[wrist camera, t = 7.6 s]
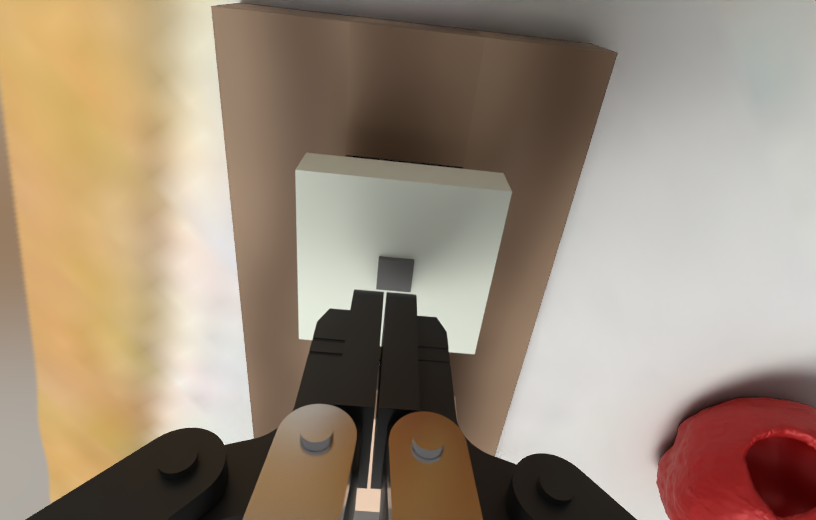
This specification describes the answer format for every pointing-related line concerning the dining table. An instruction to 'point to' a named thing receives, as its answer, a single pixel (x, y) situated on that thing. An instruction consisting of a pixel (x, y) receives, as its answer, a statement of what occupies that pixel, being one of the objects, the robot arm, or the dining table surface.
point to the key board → (405, 141)
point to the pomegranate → (742, 463)
